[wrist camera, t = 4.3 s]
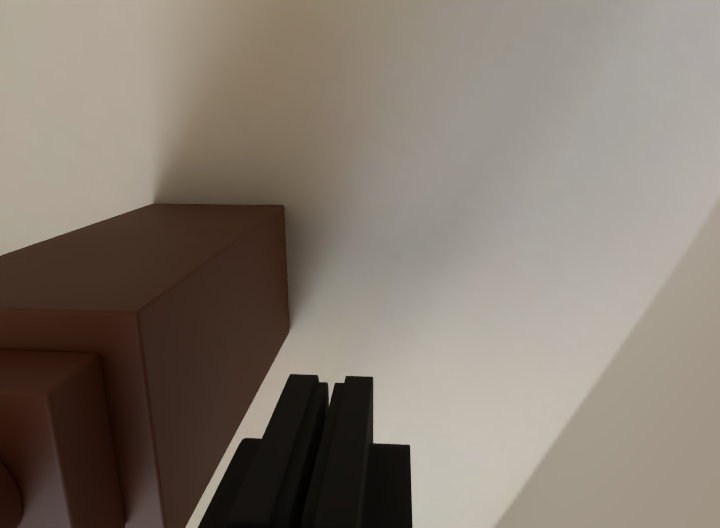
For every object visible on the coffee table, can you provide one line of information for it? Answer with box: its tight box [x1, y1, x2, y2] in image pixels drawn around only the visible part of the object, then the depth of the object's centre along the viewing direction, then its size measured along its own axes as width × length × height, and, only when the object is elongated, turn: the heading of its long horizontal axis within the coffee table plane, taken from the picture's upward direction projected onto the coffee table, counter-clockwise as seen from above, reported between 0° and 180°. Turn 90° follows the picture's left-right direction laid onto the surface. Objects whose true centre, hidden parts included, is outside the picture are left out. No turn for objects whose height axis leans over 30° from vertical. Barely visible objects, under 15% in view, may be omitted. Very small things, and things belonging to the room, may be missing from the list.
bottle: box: [0, 204, 289, 528], centre depth 13 cm, size 6×6×18 cm
